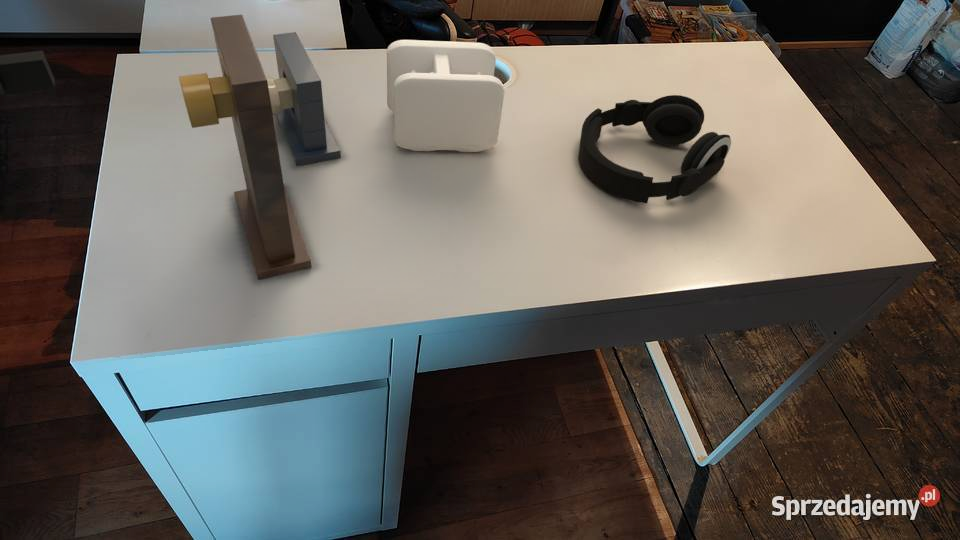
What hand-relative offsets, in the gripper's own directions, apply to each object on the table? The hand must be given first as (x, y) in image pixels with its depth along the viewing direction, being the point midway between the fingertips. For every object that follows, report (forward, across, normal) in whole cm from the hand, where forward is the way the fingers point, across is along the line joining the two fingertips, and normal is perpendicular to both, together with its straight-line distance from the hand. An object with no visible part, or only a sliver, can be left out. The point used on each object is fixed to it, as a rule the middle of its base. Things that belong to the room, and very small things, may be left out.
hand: (48, 69), depth 56 cm
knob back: (+21, -18, -20) cm, 34 cm away
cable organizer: (+42, -13, -24) cm, 50 cm away
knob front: (+13, 0, -7) cm, 15 cm away
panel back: (+24, -18, -24) cm, 38 cm away
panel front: (+15, 0, -24) cm, 29 cm away
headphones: (+67, +2, -24) cm, 71 cm away
